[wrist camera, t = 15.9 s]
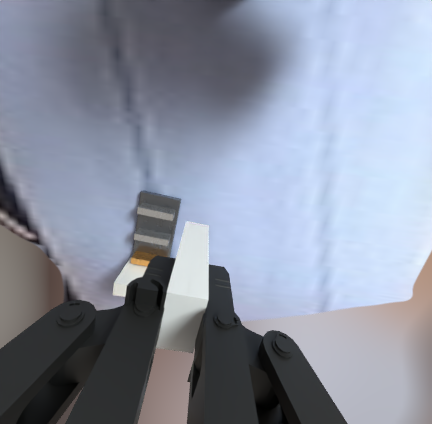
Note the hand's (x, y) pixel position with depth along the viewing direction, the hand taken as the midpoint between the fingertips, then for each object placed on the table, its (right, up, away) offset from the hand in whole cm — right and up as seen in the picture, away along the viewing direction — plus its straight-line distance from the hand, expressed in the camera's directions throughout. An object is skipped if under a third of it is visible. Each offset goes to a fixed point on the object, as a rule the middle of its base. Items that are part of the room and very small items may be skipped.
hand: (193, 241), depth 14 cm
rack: (-11, -4, +27) cm, 29 cm away
